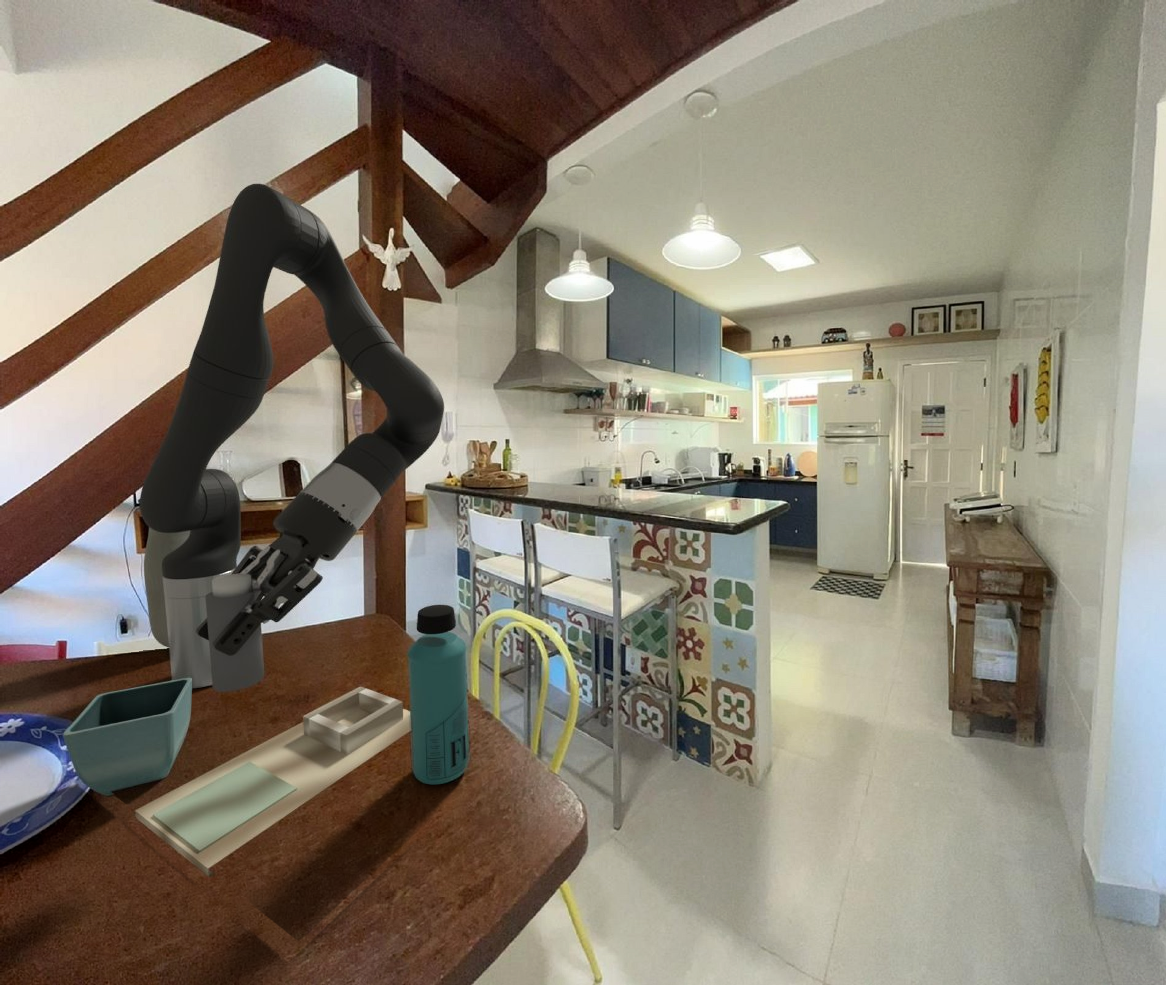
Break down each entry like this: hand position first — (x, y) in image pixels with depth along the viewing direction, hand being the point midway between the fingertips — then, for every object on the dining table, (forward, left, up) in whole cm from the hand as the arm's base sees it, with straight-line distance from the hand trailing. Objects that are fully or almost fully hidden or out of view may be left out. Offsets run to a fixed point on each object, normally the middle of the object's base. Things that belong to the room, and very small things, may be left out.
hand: (213, 643), depth 48 cm
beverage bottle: (+16, +14, -18) cm, 28 cm away
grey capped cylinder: (0, +2, -5) cm, 5 cm away
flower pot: (-14, -2, -18) cm, 23 cm away
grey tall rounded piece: (-50, +18, -18) cm, 56 cm away
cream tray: (0, +8, -18) cm, 20 cm away
